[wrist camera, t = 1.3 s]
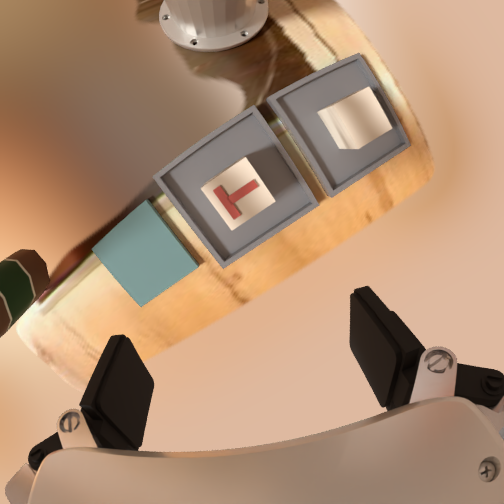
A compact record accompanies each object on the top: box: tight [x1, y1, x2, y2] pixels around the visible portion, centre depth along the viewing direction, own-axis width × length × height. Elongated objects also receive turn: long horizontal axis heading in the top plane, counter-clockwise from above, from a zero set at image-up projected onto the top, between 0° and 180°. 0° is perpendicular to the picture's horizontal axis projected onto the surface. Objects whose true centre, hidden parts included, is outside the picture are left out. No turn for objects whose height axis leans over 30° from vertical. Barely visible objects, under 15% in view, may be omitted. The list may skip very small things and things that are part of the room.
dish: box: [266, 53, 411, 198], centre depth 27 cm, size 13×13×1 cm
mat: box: [92, 199, 199, 307], centre depth 31 cm, size 10×10×1 cm
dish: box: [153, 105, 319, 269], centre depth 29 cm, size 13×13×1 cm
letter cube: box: [201, 157, 276, 230], centre depth 27 cm, size 5×5×5 cm
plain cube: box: [317, 87, 392, 149], centre depth 25 cm, size 5×5×5 cm
